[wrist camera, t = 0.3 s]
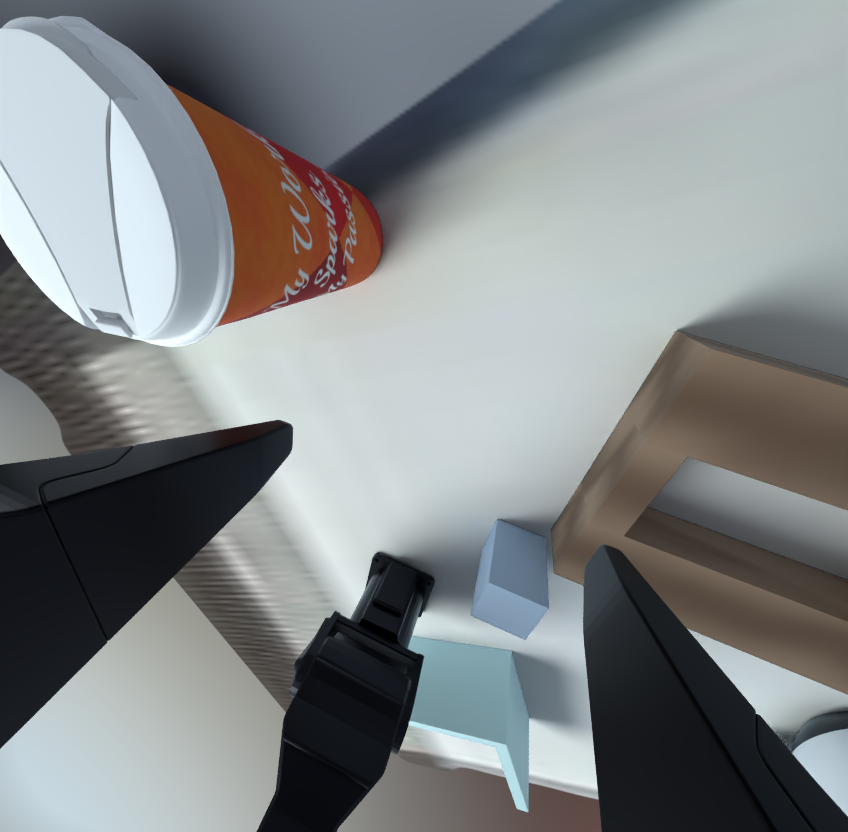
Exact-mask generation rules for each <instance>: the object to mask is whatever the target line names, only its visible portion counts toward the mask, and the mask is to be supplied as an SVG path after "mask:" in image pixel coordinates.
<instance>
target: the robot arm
mask: <svg viewBox="0 0 848 832" xmlns="http://www.w3.org/2000/svg"><path fill="white" fill-rule="evenodd" d="M292 444H293V427H292V425H291V424H289V423H287V422H284V421H281V420H275V421H269V422H263V423H258V424H252V425H246V426H241V427H235V428H229V429H224V430H218V431H212V432H206V433H201V434H195V435H189V436H184V437H178V438H172V439H167V440H161V441H155V442H150V443H144V444H138V445H135V446H126V447H121V448H115V449H109V450H103V451H97V452H91V453H85V454H78V455H70V456H63V457H56V458H49V459H41V460H34V461H26V462H18V463H11V464H3V465H0V748H1V747H2V746H3V745H4V744H5V743H6V742H7V741H8V740H9V739H10V738H12V736H14V735H15V733H17V731H19V730H20V729H21V728H22V727H23V726H24V725H25V724H26V723H27V722H28V721H29V720H30V719H31V718H32V717H33V716H34V715H35V714H36V713H37V712H38V711H39V710H40V709H41V708H42V707H43V706H44V705H45V704H46V703H47V702H48V701H49V700H50V699H51V698H52V697H53V696H54V695H55V694H56V693H57V692H58V691H59V690H60V689H61V688H62V687H63V686H64V685H65V684H66V683H67V682H68V681H69V680H70V679H71V678H72V677H73V676H74V675H75V674H76V673H77V672H78V671H79V670H80V669H81V668H82V667H83V666H84V665H85V664H86V663H87V662H88V661H89V660H90V659H91V658H92V657H93V656H94V655H95V654H96V653H97V652H98V651H99V650H100V649H101V648H102V647H103V646H104V645H105V644H106V643H107V641H108V640H110V639H111V638H112V637H113V636H114V635H115V634H116V633H117V632H118V631H119V630H120V629H121V628H122V627H123V626H124V625H125V624H126V623H127V622H128V621H129V620H130V619H131V618H132V617H133V616H134V615H135V614H136V613H137V612H138V611H139V610H140V609H141V608H142V607H143V606H144V605H145V604H146V603H147V602H148V601H149V600H150V599H151V598H152V597H153V596H154V595H155V594H156V593H157V592H158V591H159V590H160V589H161V588H163V587H164V586H165V585H166V583H167V582H169V581H170V579H171V578H173V577H174V576H175V575H176V574H177V573H178V572H179V571H180V570H181V569H182V568H183V567H184V566H185V565H186V564H187V563H188V562H189V561H190V560H191V559H192V558H193V557H194V556H195V555H196V554H197V553H198V552H199V551H200V550H201V549H202V548H203V547H204V546H205V545H206V544H207V543H208V542H209V541H210V540H211V539H212V538H213V537H214V536H215V535H216V534H217V533H218V532H219V531H220V530H221V529H222V528H223V527H224V526H225V525H226V524H227V523H228V522H229V521H230V520H231V519H232V518H233V517H234V516H235V515H236V514H237V513H238V512H239V511H240V510H241V509H242V508H243V507H244V506H245V505H246V504H247V503H248V502H249V501H250V500H251V499H252V498H253V497H254V496H255V495H256V494H257V493H258V492H259V491H260V490H261V488H262V487H263V486H264V485H265V484H266V482H267V481H268V480H269V479H270V478H271V476H272V475H273V474H274V473H275V471H276V470H277V469H278V468H279V467H280V465H281V464H282V463H283V462H284V461H285V459H286V458H287V457H288V456H289V454H290V453H291V450H292ZM434 582H435V580H434V578H432V577H431V576H428V575H426V574H424V573H421V572H419V571H417V570H415V569H412V568H410V567H408V566H405V565H403V564H401V563H399V562H396V561H394V560H392V559H390V558H387V557H385V556H383V555H380V554H375V555H374V557H373V558H372V563H371V567H370V571H369V576H368V580H367V584H366V588H365V591H364V593H363V595H362V597H361V599H360V601H359V603H358V605H357V607H356V609H355V611H354V613H353V615H352V617H351V619H348V618H346V617H344V616H342V615H340V614H341V613H339V612H337V611H335V612H334V613H333V615H332V616H331V618H325V620H324V622H323V624H322V625H321V627H320V629H319V631H318V632H317V634H316V635H315V637H314V638H313V640H312V641H311V642H310V644H309V645H308V646H307V647H306V649H305V650H304V651H303V652H302V654H301V655H300V656H299V658H298V659H297V660H296V662H295V664H294V671H295V677H294V679H293V684H292V687H291V690H290V693H289V695H290V696H291V697H293V698H294V699H293V700H292V702H291V704H290V706H289V708H288V710H287V712H286V715H285V717H284V721H283V729H282V738H281V748H280V757H279V767H278V775H277V785H276V791H275V795H274V797H273V799H272V801H271V803H270V805H269V807H268V809H267V811H266V813H265V816H264V817H263V820H262V822H261V824H260V826H259V828H258V830H257V832H337V829H338V828H339V826H340V825H341V824H342V823H343V822H344V820H345V819H346V818H347V817H348V816H349V815H350V814H351V812H352V811H353V810H354V809H355V808H356V806H357V805H358V804H359V803H360V802H361V801H362V799H363V798H364V797H365V796H366V795H367V793H368V792H369V791H370V790H371V789H372V787H373V786H374V785H375V784H376V783H377V782H378V780H379V779H380V778H381V777H382V775H383V774H384V771H385V769H386V766H387V762H388V759H389V756H390V753H391V752H392V753H394V754H397V753H398V751H399V749H400V747H401V745H402V742H403V740H404V737H405V734H406V731H407V728H408V725H409V721H410V718H411V714H412V711H413V707H414V702H415V698H416V693H417V688H418V684H419V679H420V674H421V669H422V665H423V660H424V655H422V654H420V653H418V654H417V653H415V652H413V651H411V650H409V649H408V646H409V643H410V640H411V637H412V633H413V630H414V627H415V624H416V621H417V618H418V617H421V615H422V612H423V610H424V607H425V605H426V603H427V600H428V598H429V595H430V593H431V590H432V588H433V585H434ZM583 633H584V646H585V657H586V668H587V679H588V689H589V700H590V711H591V721H592V732H593V743H594V754H595V764H596V775H597V786H598V797H599V807H600V818H601V827H602V832H848V816H847V815H846V814H845V813H844V812H843V811H842V810H841V808H840V807H839V806H838V805H837V804H836V803H835V802H834V801H833V800H832V798H831V797H830V796H829V795H828V794H827V793H826V792H825V791H824V789H823V788H822V787H821V786H820V785H819V784H818V783H817V782H816V781H815V779H814V778H813V777H812V776H811V775H810V774H809V772H808V771H807V770H806V769H805V768H804V767H803V765H802V764H801V763H800V762H799V761H798V760H797V758H796V757H795V756H794V755H793V754H792V753H791V751H790V750H789V749H788V748H787V747H786V746H785V745H784V743H783V742H782V741H781V740H780V739H779V737H778V736H777V735H776V734H775V733H774V732H773V730H772V729H771V728H770V727H769V726H768V724H767V723H766V722H765V721H764V720H763V718H762V717H761V716H760V715H758V714H756V711H755V709H754V708H753V707H752V705H751V704H750V703H749V702H748V701H747V700H746V698H745V697H744V696H743V695H742V694H741V692H740V691H739V690H738V689H737V688H736V686H735V685H734V684H733V683H732V682H731V681H730V679H729V678H728V677H727V676H726V675H725V673H724V672H723V671H722V670H721V669H720V667H719V666H718V665H717V664H716V663H715V662H714V660H713V659H712V658H711V657H710V656H709V654H708V653H707V652H706V651H705V650H704V649H703V647H702V646H701V645H700V644H699V643H698V641H697V640H696V639H695V638H694V637H693V635H692V634H691V633H690V632H689V631H688V630H687V628H686V627H685V626H684V625H683V624H682V622H681V621H680V620H679V619H678V618H677V616H676V615H675V614H674V613H673V612H672V611H671V609H670V608H669V607H668V606H667V605H666V603H665V602H664V601H663V600H662V599H661V597H660V596H659V595H658V594H657V593H656V592H655V590H654V589H653V588H652V587H651V586H650V584H649V583H648V582H647V581H646V580H645V578H644V577H643V576H642V575H641V574H640V573H639V571H638V570H637V569H636V568H635V567H634V565H633V564H632V563H631V562H630V561H629V559H628V558H627V557H626V556H625V555H624V554H623V552H622V551H621V550H619V549H617V548H615V547H612V546H609V545H607V544H602V545H600V546H599V547H598V548H597V550H596V551H595V553H594V554H593V555H592V557H591V558H590V560H589V561H588V562H587V564H586V566H585V570H584V611H583Z"/></svg>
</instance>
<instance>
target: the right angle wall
mask: <svg viewBox="0 0 848 832" xmlns="http://www.w3.org/2000/svg"><path fill="white" fill-rule="evenodd" d="M408 649H409V650H411V651H413V652H415V653H417V654H418V653H420V654H422V655H424V660H423V665H422V669H421V674H420V679H419V684H418V688H417V693H416V698H415V702H414V707H413V711H412V714H411V718H410V721H409V725H410V726H414V727H418V728H422V729H426V730H430V731H434V732H438V733H442V734H446V735H449V736H453V737H457V738H461V739H465V740H469V741H473V742H477V743H481V744H485V745H489V746H492V747H495V748H496V750H497V753H498V756H499V759H500V762H501V765H502V768H503V770H504V773H505V776H506V779H507V782H508V784H509V788H510V790H511V793H512V796H513V799H514V801H515V805H516V807H517V809H519V810H522V811H526V812H528V779H529V715H528V712H527V708H526V704H525V700H524V697H523V693H522V689H521V685H520V681H519V678H518V674H517V670H516V666H515V663H514V659H513V655H512V651H511V650H504V649H497V648H490V647H483V646H476V645H469V644H462V643H455V642H448V641H440V640H433V639H426V638H419V637H411V640H410V643H409V646H408Z"/></svg>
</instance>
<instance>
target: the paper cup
mask: <svg viewBox="0 0 848 832" xmlns="http://www.w3.org/2000/svg"><path fill="white" fill-rule="evenodd" d="M0 234H1V236H2V237H3V239H4V241H5V243H6V244H7V245H8V247H9V249H10V250H11V251H12V253H13V254H14V256H15V257H16V259H17V260H18V262H19V263H20V265H21V266H22V267H23V268H24V270H25V271H26V272H27V273H28V275H29V276H30V277H31V279H32V280H33V281H34V282H35V283H36V284H37V285H38V287H39V288H40V289H41V290H42V291H43V292H44V293H45V294H46V295H47V296H48V297H49V298H50V299H51V300H52V301H53V302H54V303H55V304H56V305H57V306H58V307H59V308H61V309H62V310H63V311H64V312H66V313H67V314H68V315H69V316H71V317H72V318H73V319H74V320H76V321H78V322H79V323H81V324H82V325H84V326H85V327H89V328H91V329H100V330H101V331H103V332H105V333H110V334H115V335H120V336H124V337H129V338H132V339H136V340H142V341H145V342H149V343H152V344H157V345H161V346H169V347H177V346H186V345H189V344H192V343H195V342H198V341H200V340H201V339H203V338H204V337H206V336H207V335H209V334H210V333H211V332H212V330H213V329H214V328H215V327H217V326H220V325H224V324H228V323H232V322H235V321H239V320H243V319H246V318H250V317H253V316H256V315H259V314H262V313H265V312H269V311H272V310H275V309H278V308H281V307H285V306H288V305H291V304H294V303H297V302H301V301H304V300H307V299H311V298H314V297H318V296H321V295H324V294H328V293H331V292H334V291H337V290H340V289H344V288H347V287H350V286H352V285H355V284H357V283H360V282H362V281H363V280H365V279H366V278H367V277H369V276H370V275H371V273H372V272H373V271H374V270H375V268H376V266H377V264H378V262H379V260H380V257H381V253H382V247H383V234H382V227H381V223H380V220H379V217H378V215H377V212H376V210H375V209H374V207H373V205H372V204H371V202H370V201H369V200H368V199H367V198H366V197H365V196H364V195H363V194H362V193H361V192H360V191H358V190H357V189H355V188H354V187H352V186H351V185H349V184H348V183H346V182H344V181H343V180H341V179H339V178H337V177H335V176H334V175H332V174H330V173H328V172H327V171H325V170H323V169H321V168H319V167H318V166H316V165H314V164H312V163H310V162H308V161H307V160H305V159H303V158H301V157H299V156H297V155H296V154H294V153H292V152H290V151H288V150H287V149H285V148H283V147H281V146H279V145H277V144H276V143H274V142H272V141H270V140H268V139H266V138H265V137H263V136H261V135H259V134H257V133H255V132H253V131H252V130H250V129H248V128H246V127H244V126H242V125H241V124H239V123H237V122H235V121H233V120H231V119H230V118H228V117H226V116H224V115H222V114H220V113H218V112H217V111H215V110H213V109H211V108H209V107H207V106H206V105H204V104H202V103H200V102H198V101H196V100H194V99H193V98H191V97H189V96H187V95H185V94H183V93H182V92H180V91H178V90H176V89H174V88H172V87H171V86H169V85H167V84H165V83H164V81H162V79H161V78H160V77H159V76H158V75H157V74H156V73H155V71H154V70H153V69H152V68H151V67H150V66H149V65H148V64H147V63H146V62H144V61H143V60H142V59H141V58H140V57H139V56H137V55H136V54H135V53H134V52H133V51H132V50H130V49H129V48H127V47H126V46H124V45H123V44H121V43H120V42H118V41H116V40H115V39H113V38H111V37H110V36H108V35H107V34H105V33H104V32H102V31H101V30H100V29H98V28H97V27H95V26H94V25H92V24H91V23H90V22H88V21H87V20H85V19H83V18H81V17H70V16H60V17H56V18H52V19H45V18H40V17H22V18H17V19H14V20H12V21H9V22H8V23H7V24H5V25H4V27H3V28H1V29H0Z"/></svg>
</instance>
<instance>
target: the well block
mask: <svg viewBox="0 0 848 832" xmlns="http://www.w3.org/2000/svg"><path fill="white" fill-rule="evenodd" d="M687 457H691V458H694V459H697V460H700V461H703V462H706V463H709V464H712V465H715V466H717V467H720V468H723V469H726V470H729V471H732V472H735V473H738V474H741V475H744V476H747V477H750V478H753V479H756V480H759V481H762V482H765V483H768V484H771V485H774V486H777V487H780V488H783V489H786V490H789V491H792V492H795V493H798V494H801V495H804V496H807V497H810V498H813V499H816V500H819V501H822V502H825V503H828V504H831V505H833V506H836V507H839V508H842V509H845V510H848V379H845V378H842V377H838V376H835V375H831V374H827V373H824V372H820V371H817V370H813V369H810V368H806V367H803V366H799V365H796V364H792V363H789V362H785V361H781V360H778V359H774V358H771V357H767V356H764V355H760V354H757V353H753V352H750V351H746V350H742V349H739V348H735V347H732V346H728V345H725V344H721V343H718V342H714V341H711V340H707V339H704V338H700V337H696V336H693V335H689V334H686V333H682V332H679V331H675V333H674V335H673V336H672V338H671V339H670V341H669V343H668V344H667V346H666V347H665V349H664V351H663V352H662V354H661V355H660V357H659V359H658V360H657V362H656V363H655V365H654V367H653V368H652V370H651V371H650V373H649V375H648V376H647V378H646V379H645V381H644V383H643V384H642V386H641V387H640V389H639V391H638V392H637V394H636V395H635V397H634V399H633V400H632V402H631V403H630V405H629V407H628V408H627V410H626V411H625V413H624V415H623V416H622V418H621V419H620V421H619V423H618V424H617V426H616V427H615V429H614V430H613V432H612V434H611V435H610V437H609V438H608V440H607V442H606V443H605V445H604V446H603V448H602V450H601V451H600V453H599V454H598V456H597V458H596V459H595V461H594V462H593V464H592V466H591V467H590V469H589V470H588V472H587V474H586V475H585V477H584V478H583V480H582V482H581V483H580V485H579V486H578V488H577V490H576V491H575V493H574V494H573V496H572V498H571V499H570V501H569V502H568V504H567V506H566V507H565V509H564V510H563V512H562V514H561V515H560V517H559V518H558V520H557V522H556V523H555V525H554V526H553V528H552V530H551V537H552V552H553V567H554V574H556V575H559V576H561V577H564V578H566V579H569V580H571V581H573V582H576V583H578V584H581V585H583V586H584V570H585V566H586V564H587V562H588V561H589V560H590V558H591V557H592V555H593V554H594V553H595V551H596V550H597V548H598V547H599V546H600V545H602V544H607V545H609V546H612V547H615V548H617V549H619V550H621V551H622V552H623V554H624V555H625V556H626V557H627V558H628V559H629V561H630V562H631V563H632V564H633V565H634V567H635V568H636V569H637V570H638V571H639V573H640V574H641V575H642V576H643V577H644V578H645V580H646V581H647V582H648V583H649V584H650V586H651V587H652V588H653V589H654V590H655V592H656V593H657V594H658V595H659V596H660V597H661V599H662V600H663V601H664V602H665V603H666V605H667V606H668V607H669V608H670V609H671V611H672V612H673V613H674V614H675V615H676V616H677V618H678V619H679V620H680V621H681V622H682V624H683V625H684V626H685V627H686V628H687V629H690V630H692V631H695V632H697V633H700V634H702V635H704V636H707V637H709V638H712V639H714V640H717V641H719V642H721V643H724V644H726V645H729V646H731V647H734V648H736V649H738V650H741V651H743V652H746V653H748V654H751V655H753V656H755V657H758V658H760V659H763V660H765V661H768V662H770V663H772V664H775V665H777V666H780V667H782V668H785V669H787V670H789V671H792V672H794V673H797V674H799V675H802V676H804V677H806V678H809V679H811V680H814V681H816V682H819V683H821V684H823V685H826V686H828V687H831V688H833V689H836V690H838V691H840V692H843V693H845V694H848V580H846V579H843V578H840V577H838V576H835V575H832V574H830V573H827V572H824V571H821V570H819V569H816V568H813V567H810V566H808V565H805V564H802V563H799V562H797V561H794V560H791V559H788V558H786V557H783V556H780V555H777V554H775V553H772V552H769V551H766V550H764V549H761V548H758V547H756V546H753V545H750V544H747V543H745V542H742V541H739V540H736V539H734V538H731V537H728V536H725V535H723V534H720V533H717V532H714V531H712V530H709V529H706V528H703V527H701V526H698V525H695V524H692V523H690V522H687V521H684V520H682V519H679V518H676V517H673V516H671V515H668V514H665V513H662V512H660V511H657V510H654V509H651V508H649V507H647V506H648V505H649V504H650V503H651V501H652V500H653V499H654V498H655V496H656V495H657V494H658V493H659V491H660V490H661V489H662V488H663V486H664V485H665V484H666V483H667V481H668V480H669V479H670V478H671V476H672V475H673V474H674V473H675V471H676V470H677V469H678V468H679V467H680V465H681V464H682V463H683V462H684V460H685V459H686V458H687Z"/></svg>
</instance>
